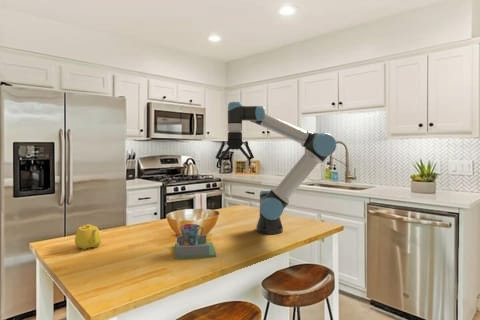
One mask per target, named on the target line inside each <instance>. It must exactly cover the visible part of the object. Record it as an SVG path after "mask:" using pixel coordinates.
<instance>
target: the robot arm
mask: <svg viewBox="0 0 480 320" xmlns="http://www.w3.org/2000/svg"><path fill="white" fill-rule="evenodd" d="M243 121H244V122H245V121H247V122H248V121H249V122H251V123H253V124H256V125H259V126H261V127H263V128H265V129H267V130H270V131H271V132H274V133H276V134H278V135H281V136H283V137H285V138H288V139H289V140H292V141H294V142H296V143H298V144H300V146H301V147H303V148H304V154H303V155H302V156H301V157H300V158H299V160H298V161H297V162H296V163H295V165H294V166H293V167H292V168H291V169H290V170H289V171H288V173H287V174H286V175H285V176H284V178H283V179H282V180H281V181H280V182H279V184H278V185H277V186H276V187H274V188H271V189H270V190H260V192H259V218H258V221H257V222H256V223H257V224H256V227H255V231H256V232H257V233H260V234H265V235H275V234H276V235H277V234H281V233H283V231H284V229H283V228H284V226H283V223H282V220H281V216H282V215H283V212H284V210H285V209H286V207H287V206H288V205H289V203H290V202H289V199H290V198H291V197H292V195H293V194H294V193H295V192H296V191H297V189H298V188H299V187H300V186H301V185H302V184H303V182H304V181H305V180H306V179H307V177H308V176H309V175H310V174H311V173H312V171H314V169H315V167H316V166H317V165H318V164H322V163H324V162H325V160H326V159H327V158H328V157H330V156H331V155H333V153H334V152H335V151H336V149H337V141H336V139H335V137H334V136H333V135H332V134H330V133H328V132H320V133H317V132H315V131H311V130H304V129H302V128H300V127H297V126H295V125H293V124H291V123H289V122H286V121H285V120H282V119H279V118H278V117H275V116H273V115H271V114H268V113H266V108H265V106H262V105H261V106H260V105H249V106H248V105H243V102H241V101H231V102H229V103H227V141H224V140H222V141H221V145H220V147H219V148H218V149H219V150H218V152H217V153H216V155H215V159H216V160H218V165H219V167H220V173H222V174H223V173H224V159H223V158H224V157H225V156H226V155H227V153H228V152H229V151H231V150H232V151H233V150H236V151H237V150H239V151H240V152H241V153H242V154H243V156H245V158H246V159H245V172H246V173H249V172H250V171H249V167H250V166H251V160H252V159H254V158H255V156H254V154H253V152H252V150H251V148H250V146H249V142H248V141H247V140H245V141H243V133H242V131H243ZM226 145H227V148H226V149H225V150H224V151H223V149H224V147H225V146H226ZM243 145H244V146H245V148H246V150H245V149H244V148H243V147H242V146H243ZM246 151H247V152H248V153H247V152H246Z"/></svg>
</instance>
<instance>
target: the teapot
mask: <svg viewBox="0 0 480 320" xmlns="http://www.w3.org/2000/svg"><path fill="white" fill-rule="evenodd" d="M74 243H75V245H76V246H77V248H78V249H79V248H80V249H81V251H86V250H87V249H89V248H94V249H98V248H99V246H100V245H101V243H102V235H101V232H100V230H99V228H98V226H96V225H92V224H90V223H87V224H85V225H82V226H80V227H78V228H77V230H76V233H75V238H74Z"/></svg>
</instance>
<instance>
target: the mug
mask: <svg viewBox="0 0 480 320" xmlns="http://www.w3.org/2000/svg"><path fill="white" fill-rule="evenodd" d="M179 229H180V232H181V235H182V238H183V240H182V245H181V246H194V245H198V242H197V241H198V240H197V239H198V238H199V237H200V236H201V235H203V231H204V227H201V226H200V224H197V223H187V224H181V225H180V226H179ZM200 229H201V232H200V234H199V230H200ZM197 235H199V237H198V238H197Z"/></svg>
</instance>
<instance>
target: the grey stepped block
mask: <svg viewBox="0 0 480 320" xmlns="http://www.w3.org/2000/svg"><path fill="white" fill-rule="evenodd" d="M199 235H200V234H198V235H197V238H198V237H199ZM182 240H183V238H182V234H181V235H177V236H176V243H175V244H174V260H179V259H182V260H183V259H195V258H196V259H197V258H198V259H199V258H201V259H202V258H214V257H217V253H216V252H217V251H216V249H215V247H214V244H213V241H207V234H205V233H204V234H202V235H201V236H200V237H199V238H198V239H197V240H198V241H197V242H198V245H194V246H181V245H182Z"/></svg>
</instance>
